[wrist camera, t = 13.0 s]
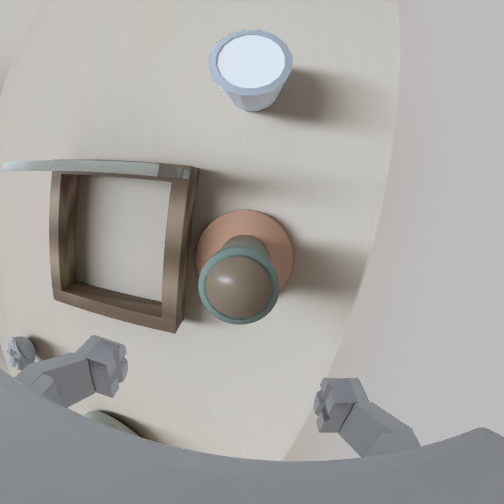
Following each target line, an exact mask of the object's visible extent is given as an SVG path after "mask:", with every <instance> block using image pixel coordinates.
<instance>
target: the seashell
mask: <svg viewBox="0 0 504 504" xmlns="http://www.w3.org/2000/svg"><path fill="white" fill-rule="evenodd" d="M84 416H85V417H87V418H89V419H92V420H94V421H96V422H99V423H101V424H104V425H106V426H109V427H112V428H114V429H117V430H120V431H123V432H125V433H128V434H131V435H134V436H138V435H137V434H136V433H135V432H134V431H132V430H131V429H130V428H128V427H127V426H125V425H124V424H122V423H121V422H119V421H118V420H116V419H115V418H113V417H111V416H109V415H107V414H105V413H102V412H99V411H92V412H89V413H87V414H85V415H84ZM138 437H140V436H138Z"/></svg>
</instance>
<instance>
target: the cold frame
mask: <svg viewBox="0 0 504 504" xmlns="http://www.w3.org/2000/svg"><path fill="white" fill-rule="evenodd" d="M3 171H52V180H51V193H50V216H49V241H50V264H51V277H52V287H53V296H54V300H57V301H60V302H63V303H66V304H69V305H72V306H75V307H78V308H81V309H84V310H87V311H90V312H94V313H97V314H100V315H104V316H107V317H111V318H114V319H118V320H122V321H125V322H129V323H133V324H137V325H141V326H145V327H149V328H153V329H157V330H162V331H166V332H171V333H176V331H177V329H178V328H179V326H180V324H181V322H182V320H183V315H184V300H185V286H186V274H187V263H188V252H189V243H190V233H191V225H192V216H193V208H194V201H195V193H196V186H197V179H198V173H199V168H196V167H192V166H186V165H175V164H164V163H151V162H135V161H115V160H48V161H22V162H6V163H4V164H3ZM78 175H98V176H114V177H128V178H140V179H151V180H161V181H171V182H172V184H171V191H170V200H169V208H168V217H167V227H166V238H165V251H164V265H163V283H162V302H158V301H154V300H149V299H145V298H140V297H136V296H131V295H127V294H123V293H119V292H115V291H111V290H107V289H103V288H99V287H95V286H91V285H88V284H84V283H80V282H77V281H76V266H75V215H76V197H77V185H78Z"/></svg>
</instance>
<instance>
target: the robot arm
mask: <svg viewBox="0 0 504 504" xmlns="http://www.w3.org/2000/svg"><path fill="white" fill-rule="evenodd" d="M125 354H126V347H125V345H123V344H120V343H117V342H114V341H111V340H108V339H105V338H102V337H99V336H96V335H93V336H91V337H90V338H89V339H88V340H87V341H86V342H85V343H84V344H83V345H82V346H81V347H80V348H79V349H78V350H77V351H76V352H75V354H74V353H68V354H65V355H61V356H58V357H54V358H50V359H47V360H43V361H39V362H35V363H31V364H28V365H27V366H26V367H25V368H24V369H23V370H22V371H21V372H20V373H19V374H18V375H17V376H16V377H15V378H13V377H12V376H10V375H9V374H8V373H6V372H5V371H3V370H2V369H0V504H504V437H502V436H500V435H499V434H497V433H495V432H493V431H491V430H489V429H486V428H477V429H474V430H472V431H469V432H466V433H464V434H461V435H458V436H455V437H452V438H449V439H446V440H443V441H440V442H436V443H432V444H429V445H425V446H420V444H419V442H418V440H417V438H416V436H415V434H414V432H413V430H412V428H410V427H409V426H407V425H406V424H404V423H403V422H401V421H400V420H398V419H396V418H395V417H394V416H392V415H391V414H389V413H387V412H386V411H385V410H383V409H382V408H380V407H379V406H377V405H376V404H374V403H370V402H369V400H368V397H367V395H366V393H365V391H364V389H363V387H362V384H361V382H360V380H359V379H358V378H324V379H323V380H322V382H321V384H320V386H321V390H320V391H318V392H317V394H316V397H315V401H314V411H315V414H316V415H318V416H319V417H318V419H317V425H318V430H319V432H338V434H339V435H340V436H341V437H342V438H343V439H344V440H345V441H346V442H347V443H348V444H349V445H350V446H351V447H352V448H353V449H354V450H355V451H356V452H357V453H358V454H359V455H360V456H361V457H362V458H354V459H343V460H329V461H268V460H254V459H244V458H235V457H227V456H220V455H213V454H208V453H202V452H197V451H192V450H187V449H182V448H178V447H174V446H170V445H166V444H162V443H158V442H154V441H151V440H147V439H144V438H141V437H138V436H134V435H131V434H128V433H125V432H123V431H120V430H117V429H114V428H112V427H109V426H106V425H104V424H101V423H99V422H96V421H94V420H92V419H89V418H87V417H85V416H82V415H80V414H78V413H76V412H74V411H72V410H70V409H68V408H67V407H69V406H71V405H73V404H75V403H77V402H79V401H81V400H83V399H85V398H87V397H88V396H90V395H92V394H94V393H95V392H97V393H100V394H103V395H106V396H109V397H112V398H113V397H114V395H115V394H116V392H117V391H118V389H119V384H118V383H120V382H123V381H124V379H125V377H126V374H127V371H128V362H127V360H126V359H125V357H124V356H125Z"/></svg>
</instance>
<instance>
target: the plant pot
mask: <svg viewBox="0 0 504 504" xmlns="http://www.w3.org/2000/svg"><path fill="white" fill-rule="evenodd" d="M198 289H199V295H200V298H201V300H202V302H203V304H204V306H205V307H206V308H207V310H208V311H209V312H210V313H211V314H212V315H214V316H215V317H216V318H218V319H220V320H222V321H224V322H227V323H231V324H249V323H253V322H256V321H258V320H260V319H262V318H263V317H265V316H266V315H267V314H268V313H269V312H270V311H271V310H272V309H273V307H274V306H275V304H276V302H277V299H278V296H279V280H278V275H277V272H276V269H275V267H274V265H273V264H272V262H271V261H270V255H269V251H268V249H267V247H266V246H265V244H264V243H263V242H262V241H261V240H259V239H258V238H256V237H254V236H251V235H237V236H234V237H232V238H230V239H229V240H227V241H226V242H225V243H224V245H223V246H222V248H221V249H220V250H219V251H218V252H216V253H215V254H214V255H212V256H211V257H210V259H209V260H208V261H207V263H206V264H205V265H204V267H203V269H202V271H201V273H200V276H199V281H198Z"/></svg>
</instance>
